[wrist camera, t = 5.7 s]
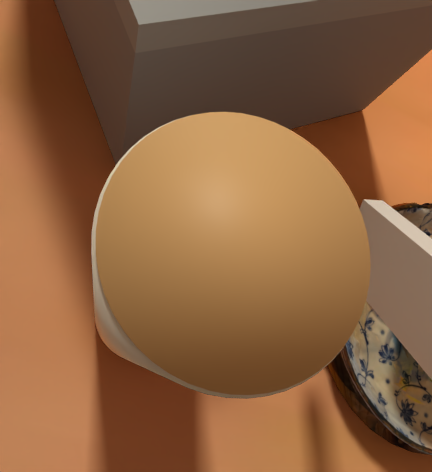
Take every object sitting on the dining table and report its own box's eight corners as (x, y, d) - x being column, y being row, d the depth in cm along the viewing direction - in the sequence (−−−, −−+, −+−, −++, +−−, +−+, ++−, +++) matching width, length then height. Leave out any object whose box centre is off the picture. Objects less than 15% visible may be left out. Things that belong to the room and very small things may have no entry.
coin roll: (114, 379, 16) (159, 462, 5) (80, 282, 16) (46, 144, 5) (206, 338, 17) (416, 324, 6) (172, 250, 18) (305, 85, 6)
